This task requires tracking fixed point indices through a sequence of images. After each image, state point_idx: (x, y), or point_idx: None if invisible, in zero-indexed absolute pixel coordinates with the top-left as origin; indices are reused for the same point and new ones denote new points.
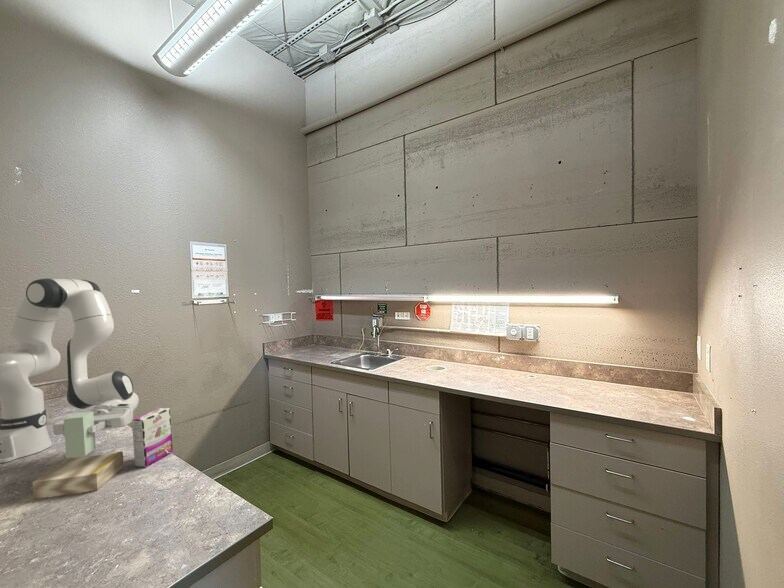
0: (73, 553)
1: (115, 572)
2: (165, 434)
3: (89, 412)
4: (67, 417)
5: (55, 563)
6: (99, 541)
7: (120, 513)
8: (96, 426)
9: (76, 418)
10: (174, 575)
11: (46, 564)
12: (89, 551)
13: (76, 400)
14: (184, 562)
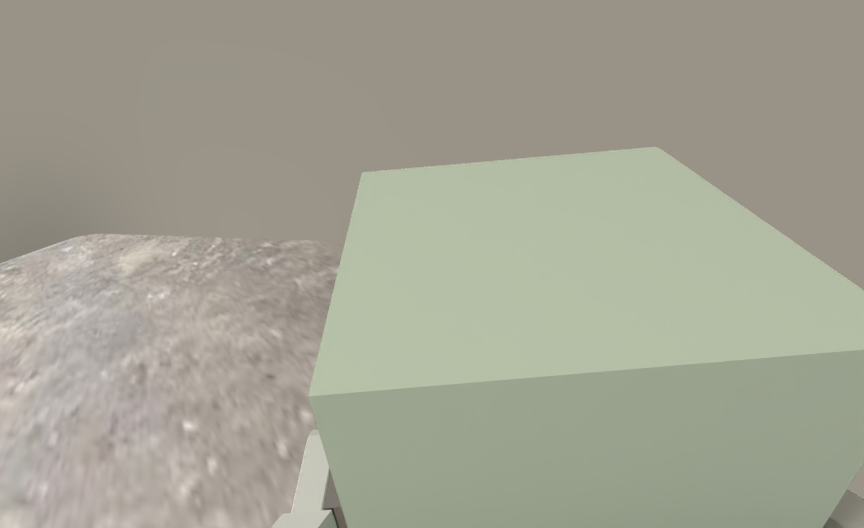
0: (266, 276)
1: (176, 245)
2: None
3: (387, 329)
4: (687, 177)
5: (291, 262)
6: (220, 296)
7: (184, 377)
8: (289, 524)
9: (458, 174)
10: (87, 239)
11: (308, 261)
12: (234, 278)
13: None
14: (64, 252)
